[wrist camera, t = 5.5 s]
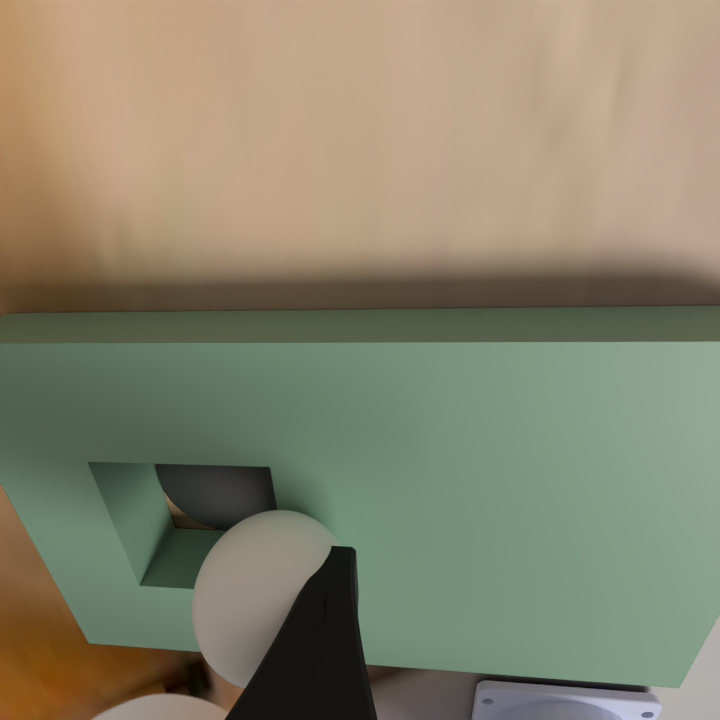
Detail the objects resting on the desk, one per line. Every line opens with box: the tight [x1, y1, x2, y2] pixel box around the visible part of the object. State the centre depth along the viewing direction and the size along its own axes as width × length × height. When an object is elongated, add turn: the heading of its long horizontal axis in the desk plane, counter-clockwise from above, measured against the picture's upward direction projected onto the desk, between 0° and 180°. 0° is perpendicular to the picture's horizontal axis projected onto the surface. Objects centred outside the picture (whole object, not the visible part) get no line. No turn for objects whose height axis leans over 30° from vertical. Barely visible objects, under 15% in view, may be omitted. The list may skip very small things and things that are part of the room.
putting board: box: [0, 305, 720, 688], centre depth 13 cm, size 13×22×2 cm, turn 92°
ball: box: [192, 510, 340, 689], centre depth 10 cm, size 4×4×4 cm
